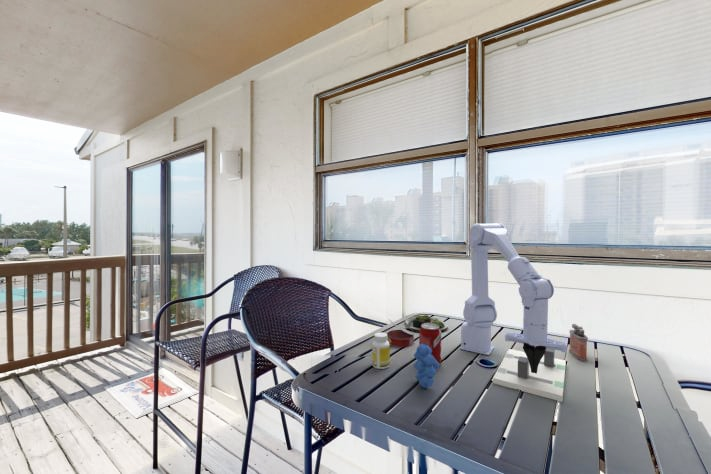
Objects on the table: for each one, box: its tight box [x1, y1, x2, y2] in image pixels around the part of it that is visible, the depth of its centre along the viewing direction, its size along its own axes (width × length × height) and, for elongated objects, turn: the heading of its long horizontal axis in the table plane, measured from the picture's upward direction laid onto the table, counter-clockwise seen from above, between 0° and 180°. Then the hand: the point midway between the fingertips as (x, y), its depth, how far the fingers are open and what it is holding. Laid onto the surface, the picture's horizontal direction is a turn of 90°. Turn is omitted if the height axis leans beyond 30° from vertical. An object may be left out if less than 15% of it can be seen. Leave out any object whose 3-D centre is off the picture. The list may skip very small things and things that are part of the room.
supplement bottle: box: [371, 331, 391, 370], centre depth 98 cm, size 5×5×10 cm
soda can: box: [418, 322, 442, 365], centre depth 99 cm, size 7×7×12 cm
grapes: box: [413, 344, 441, 389], centre depth 85 cm, size 12×7×12 cm, turn 8°
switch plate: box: [492, 348, 567, 403], centre depth 92 cm, size 16×24×2 cm, turn 145°
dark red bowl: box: [386, 318, 415, 348], centre depth 118 cm, size 11×10×10 cm
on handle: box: [543, 348, 556, 367], centre depth 95 cm, size 2×4×4 cm, turn 145°
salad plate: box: [405, 313, 449, 333], centre depth 136 cm, size 19×18×5 cm
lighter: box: [568, 323, 589, 363], centre depth 104 cm, size 8×3×10 cm, turn 168°
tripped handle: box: [518, 356, 529, 379], centre depth 88 cm, size 2×4×4 cm, turn 145°
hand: (534, 371), depth 87 cm, fingers closed
